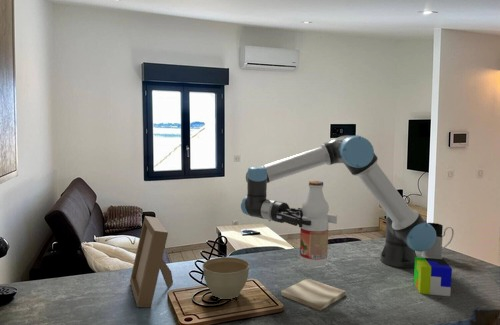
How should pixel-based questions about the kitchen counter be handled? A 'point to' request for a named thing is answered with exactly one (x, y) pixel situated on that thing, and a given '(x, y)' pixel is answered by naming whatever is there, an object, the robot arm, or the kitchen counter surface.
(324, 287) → the birch board
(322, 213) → the fruit juice
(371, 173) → the robot arm
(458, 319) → the kitchen counter surface
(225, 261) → the planter bowl
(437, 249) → the grey pitcher
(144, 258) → the photo frame
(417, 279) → the puzzle toy
